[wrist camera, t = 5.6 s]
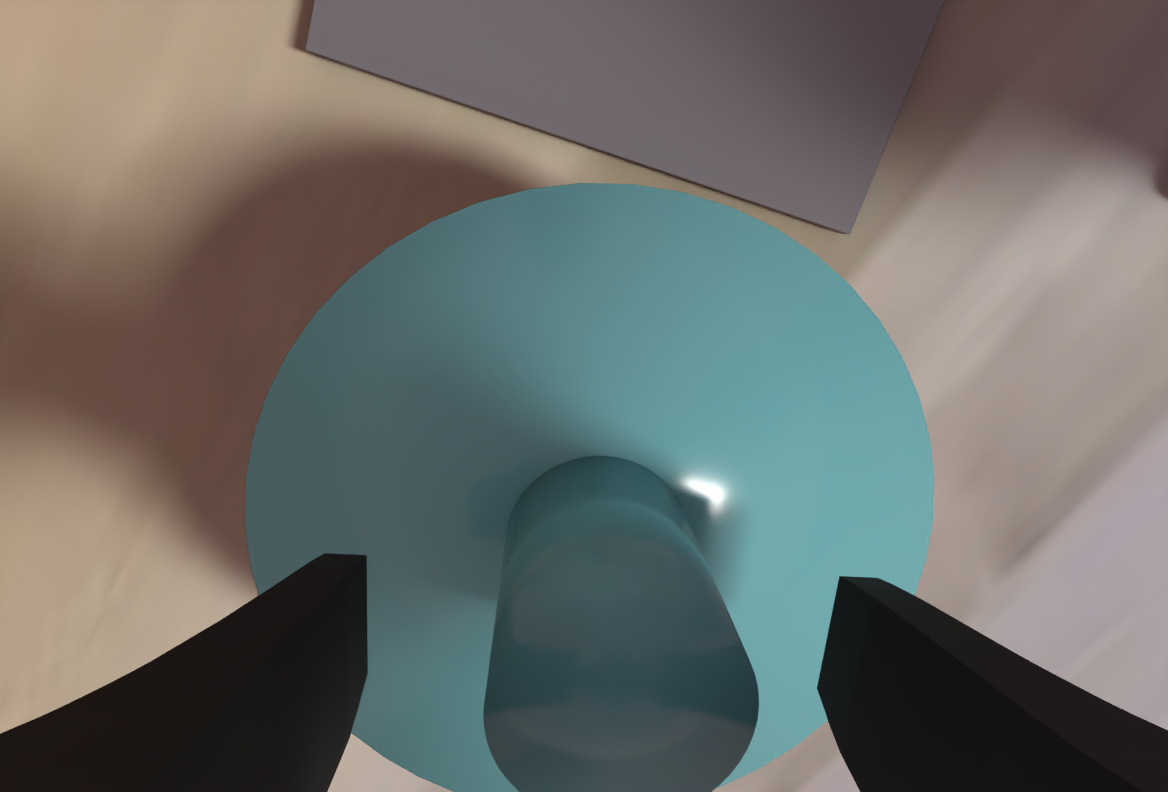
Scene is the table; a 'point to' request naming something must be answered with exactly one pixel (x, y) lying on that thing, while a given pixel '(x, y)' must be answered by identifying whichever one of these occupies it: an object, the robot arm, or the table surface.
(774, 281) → the lid
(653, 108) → the mat
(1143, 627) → the table surface
